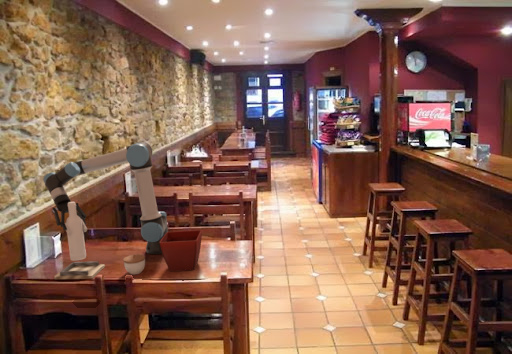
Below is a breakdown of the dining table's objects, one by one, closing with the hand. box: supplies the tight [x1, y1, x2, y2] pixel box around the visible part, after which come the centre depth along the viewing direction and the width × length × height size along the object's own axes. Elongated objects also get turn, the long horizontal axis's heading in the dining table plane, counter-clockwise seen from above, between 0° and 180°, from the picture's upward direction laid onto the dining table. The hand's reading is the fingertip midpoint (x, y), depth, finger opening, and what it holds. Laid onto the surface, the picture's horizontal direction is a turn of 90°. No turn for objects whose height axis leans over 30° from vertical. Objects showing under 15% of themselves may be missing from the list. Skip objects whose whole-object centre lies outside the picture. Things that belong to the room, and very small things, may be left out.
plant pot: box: [159, 229, 203, 272], centre depth 249 cm, size 19×19×17 cm
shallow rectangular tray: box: [53, 261, 106, 280], centre depth 250 cm, size 20×16×4 cm
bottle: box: [65, 201, 87, 262], centre depth 246 cm, size 8×8×30 cm
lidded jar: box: [122, 254, 146, 275], centre depth 246 cm, size 11×11×9 cm
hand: (78, 232), depth 244 cm, fingers closed on bottle, 8 cm apart
